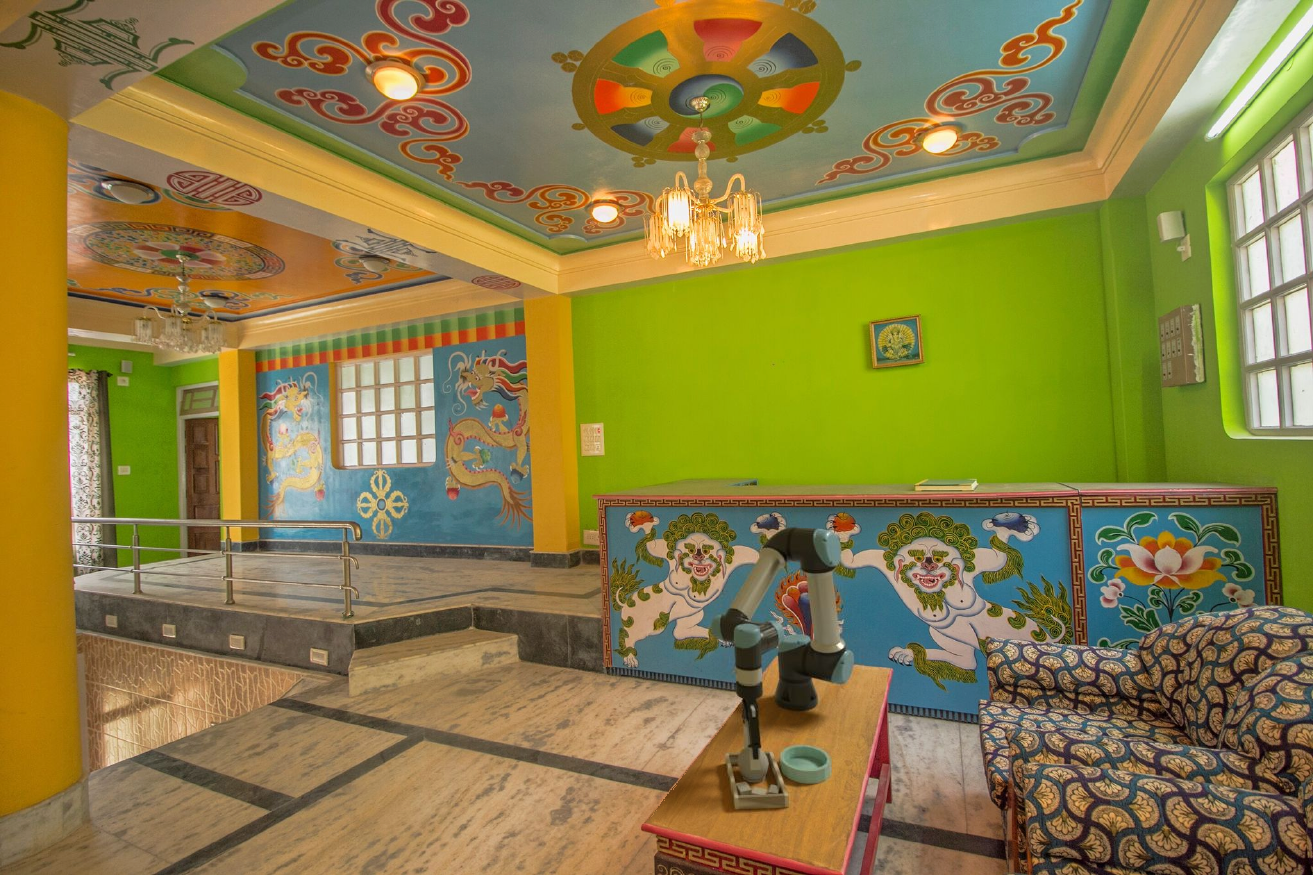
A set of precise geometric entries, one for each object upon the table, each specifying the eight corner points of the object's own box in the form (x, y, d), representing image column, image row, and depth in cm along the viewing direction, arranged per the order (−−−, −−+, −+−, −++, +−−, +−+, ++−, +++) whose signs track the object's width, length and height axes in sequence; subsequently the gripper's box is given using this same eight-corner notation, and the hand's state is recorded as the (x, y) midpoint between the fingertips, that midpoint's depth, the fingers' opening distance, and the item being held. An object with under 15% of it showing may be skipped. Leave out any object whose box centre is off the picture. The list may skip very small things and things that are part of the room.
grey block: (735, 792, 164) (735, 783, 164) (746, 790, 165) (745, 781, 165) (741, 800, 160) (740, 791, 160) (751, 798, 161) (751, 789, 161)
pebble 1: (751, 801, 160) (751, 792, 160) (754, 795, 162) (754, 786, 162) (765, 804, 158) (764, 795, 158) (767, 798, 161) (766, 789, 161)
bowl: (776, 757, 180) (776, 745, 180) (823, 755, 180) (822, 743, 180) (786, 784, 166) (786, 771, 166) (837, 782, 166) (836, 769, 166)
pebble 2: (771, 792, 163) (770, 784, 163) (780, 794, 163) (780, 785, 163) (768, 799, 160) (768, 791, 160) (778, 801, 159) (777, 793, 159)
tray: (725, 763, 178) (725, 753, 178) (772, 761, 178) (772, 751, 178) (735, 809, 156) (734, 797, 156) (789, 807, 156) (788, 795, 156)
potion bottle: (770, 769, 174) (768, 707, 174) (766, 786, 166) (763, 721, 166) (740, 765, 177) (738, 704, 177) (734, 782, 169) (732, 718, 169)
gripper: (730, 665, 183) (733, 737, 183) (741, 699, 160) (745, 781, 160) (755, 664, 183) (758, 736, 183) (769, 698, 160) (773, 780, 160)
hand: (752, 757), depth 171 cm, fingers open, 11 cm apart
